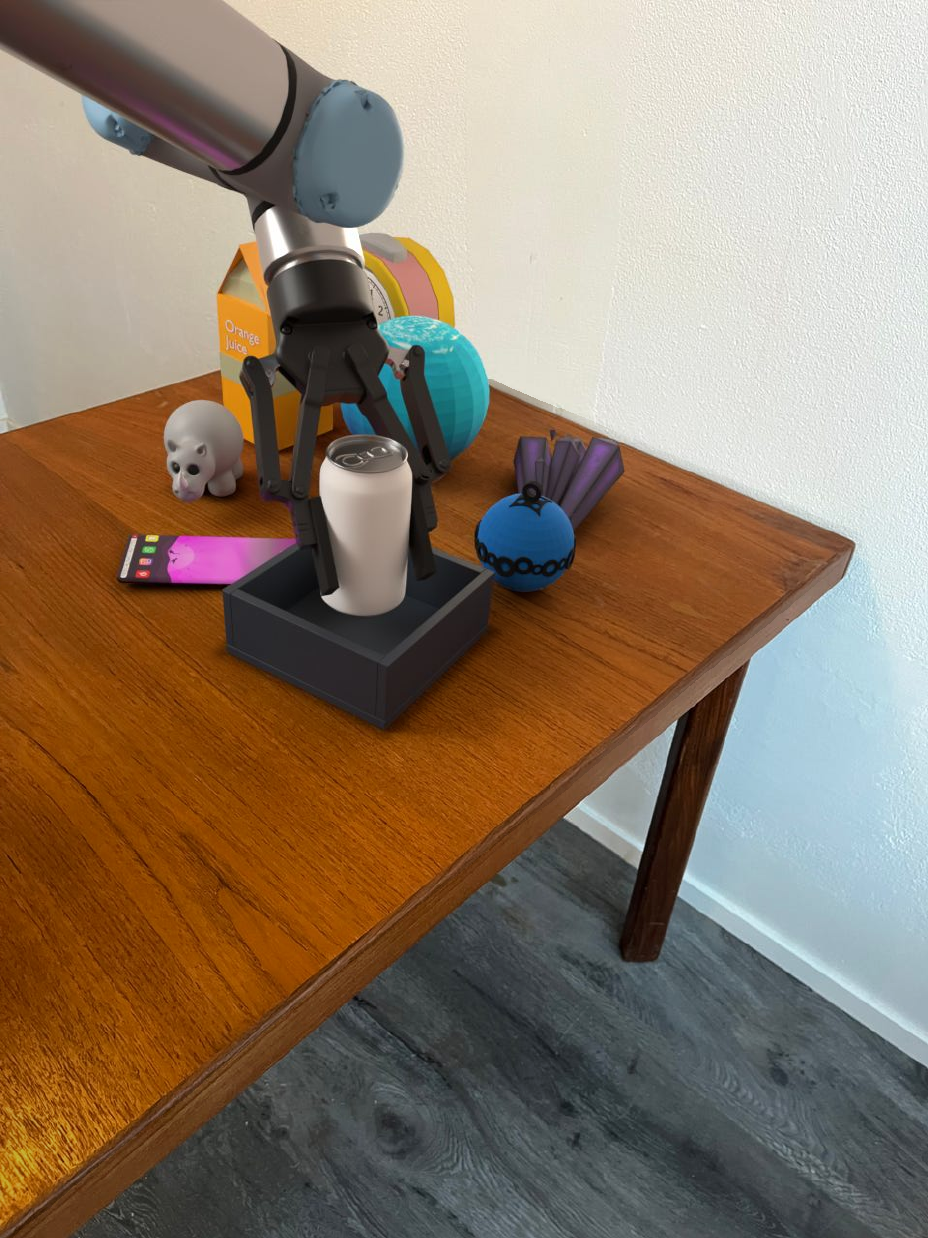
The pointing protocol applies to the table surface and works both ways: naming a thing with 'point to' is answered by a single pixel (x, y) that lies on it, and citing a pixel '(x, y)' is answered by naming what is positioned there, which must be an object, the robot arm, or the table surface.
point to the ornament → (525, 540)
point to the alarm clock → (405, 279)
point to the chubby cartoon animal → (203, 450)
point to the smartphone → (194, 558)
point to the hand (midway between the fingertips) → (379, 583)
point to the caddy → (356, 632)
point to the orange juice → (254, 347)
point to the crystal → (569, 471)
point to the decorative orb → (435, 381)
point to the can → (367, 522)
